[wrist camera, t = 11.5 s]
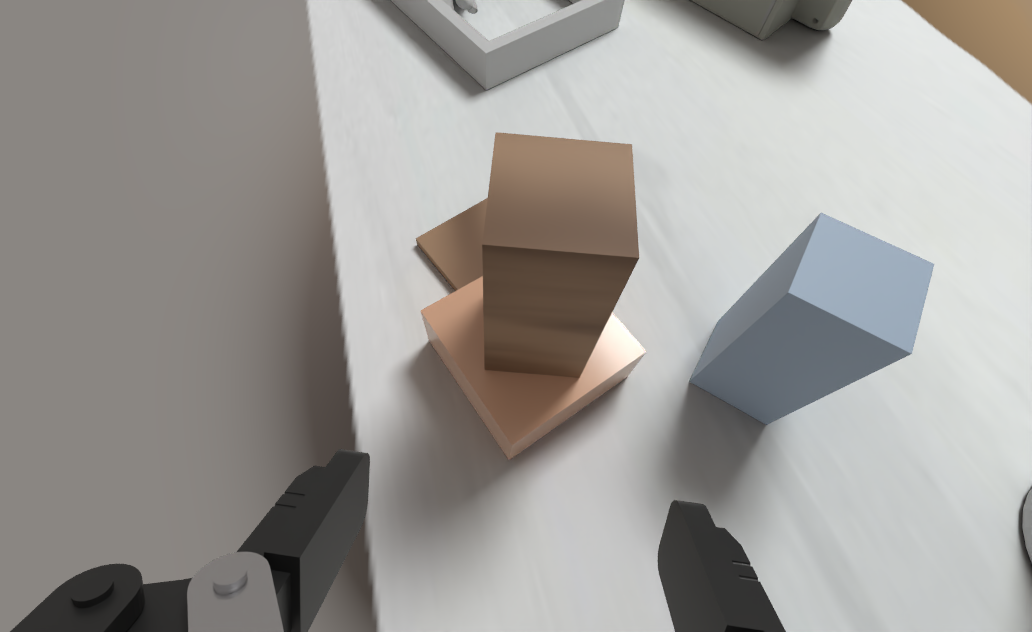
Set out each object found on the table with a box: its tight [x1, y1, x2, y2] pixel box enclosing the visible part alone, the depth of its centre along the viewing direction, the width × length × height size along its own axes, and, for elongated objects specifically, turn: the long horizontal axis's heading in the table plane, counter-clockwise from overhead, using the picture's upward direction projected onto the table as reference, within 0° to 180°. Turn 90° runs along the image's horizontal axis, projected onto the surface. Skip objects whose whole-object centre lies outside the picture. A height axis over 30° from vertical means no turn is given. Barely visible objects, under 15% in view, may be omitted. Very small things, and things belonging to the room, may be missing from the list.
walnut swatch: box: [416, 198, 488, 291], centre depth 30 cm, size 6×6×1 cm
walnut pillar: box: [482, 133, 639, 378], centre depth 19 cm, size 4×4×10 cm
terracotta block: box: [421, 276, 646, 460], centre depth 25 cm, size 8×8×4 cm
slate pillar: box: [689, 213, 934, 425], centre depth 23 cm, size 4×4×10 cm
